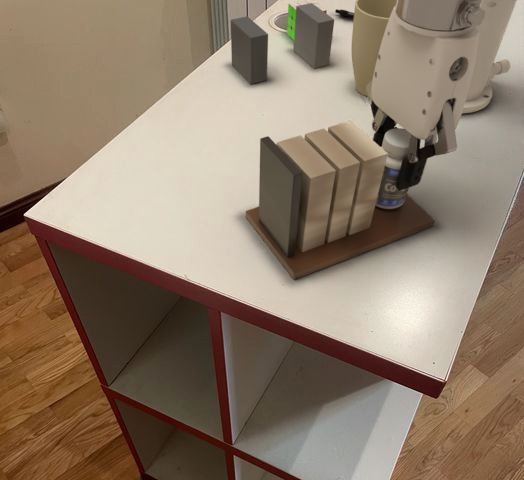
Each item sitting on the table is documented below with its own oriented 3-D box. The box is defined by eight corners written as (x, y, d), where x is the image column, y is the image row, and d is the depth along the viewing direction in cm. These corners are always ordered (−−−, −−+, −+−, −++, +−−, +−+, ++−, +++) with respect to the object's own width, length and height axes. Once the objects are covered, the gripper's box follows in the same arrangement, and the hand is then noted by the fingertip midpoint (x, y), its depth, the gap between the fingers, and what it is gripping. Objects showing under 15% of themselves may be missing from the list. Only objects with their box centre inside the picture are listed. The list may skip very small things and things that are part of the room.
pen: (332, 16, 98) (333, 9, 97) (336, 13, 99) (337, 6, 98) (400, 35, 94) (401, 28, 93) (403, 31, 95) (405, 25, 94)
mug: (348, 107, 79) (362, 22, 70) (338, 75, 85) (350, -8, 75) (418, 106, 80) (441, 21, 70) (403, 74, 86) (423, -8, 76)
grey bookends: (307, 47, 91) (311, 2, 85) (329, 64, 87) (334, 19, 82) (231, 65, 86) (230, 19, 81) (250, 84, 83) (250, 37, 77)
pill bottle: (380, 214, 63) (396, 153, 56) (360, 192, 65) (372, 131, 59) (412, 204, 64) (431, 143, 57) (391, 182, 67) (407, 122, 60)
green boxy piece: (298, 45, 91) (300, 14, 87) (286, 34, 94) (288, 3, 90) (323, 41, 92) (327, 10, 88) (311, 29, 95) (313, -1, 91)
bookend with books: (376, 173, 70) (397, 85, 60) (432, 226, 64) (465, 137, 54) (245, 217, 64) (244, 127, 54) (293, 280, 58) (302, 191, 48)
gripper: (536, 32, 44) (464, 205, 59) (413, -35, 53) (377, 130, 67) (469, 50, 42) (411, 224, 57) (352, -24, 50) (329, 145, 65)
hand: (393, 172), depth 62 cm, fingers closed on pill bottle, 4 cm apart
